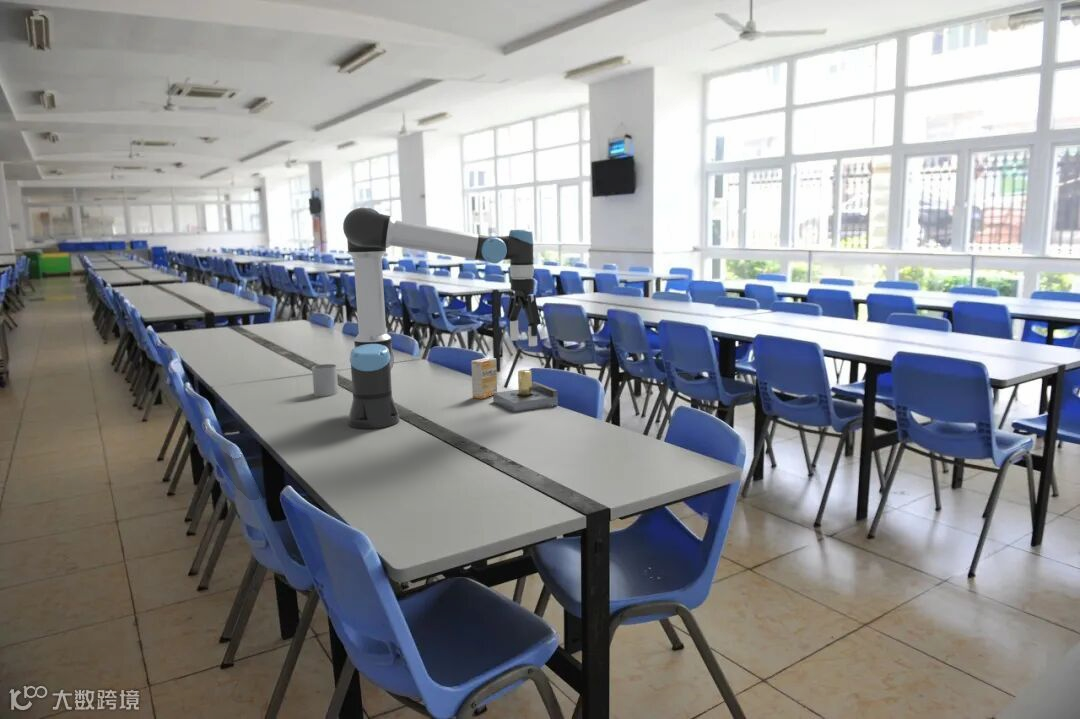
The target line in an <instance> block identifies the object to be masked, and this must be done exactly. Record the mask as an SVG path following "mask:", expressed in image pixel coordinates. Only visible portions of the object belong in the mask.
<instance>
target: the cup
mask: <svg viewBox="0 0 1080 719" xmlns="http://www.w3.org/2000/svg"><path fill="white" fill-rule="evenodd" d="M337 367H338V366H337V365H336V364H333V363H332V364H331V363H325V364H324V363H323V364H317V365H314V366H312V367H311V371H312V373H311V374H312V382H313V383H312V385H313V395H314V396H315V397H331V396H335V395H338V394H339V383H338V369H337Z"/></svg>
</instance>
